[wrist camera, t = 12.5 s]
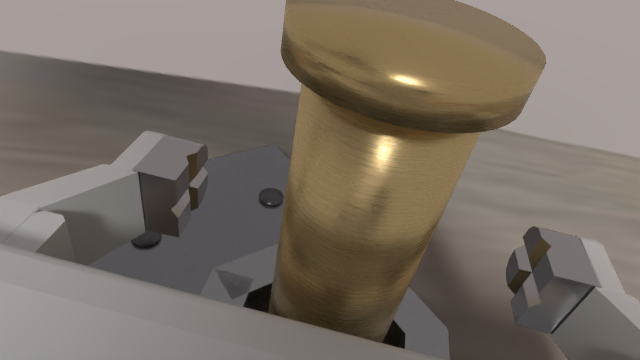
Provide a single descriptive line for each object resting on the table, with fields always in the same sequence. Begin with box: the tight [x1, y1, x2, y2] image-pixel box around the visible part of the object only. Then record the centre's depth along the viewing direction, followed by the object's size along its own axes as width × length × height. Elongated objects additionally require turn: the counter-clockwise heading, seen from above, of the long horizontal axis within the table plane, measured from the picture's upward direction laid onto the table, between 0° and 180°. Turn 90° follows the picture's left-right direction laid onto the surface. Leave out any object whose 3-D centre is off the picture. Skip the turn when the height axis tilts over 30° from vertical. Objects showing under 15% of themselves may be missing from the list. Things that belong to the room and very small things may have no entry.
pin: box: [268, 0, 546, 343], centre depth 11 cm, size 4×4×13 cm
